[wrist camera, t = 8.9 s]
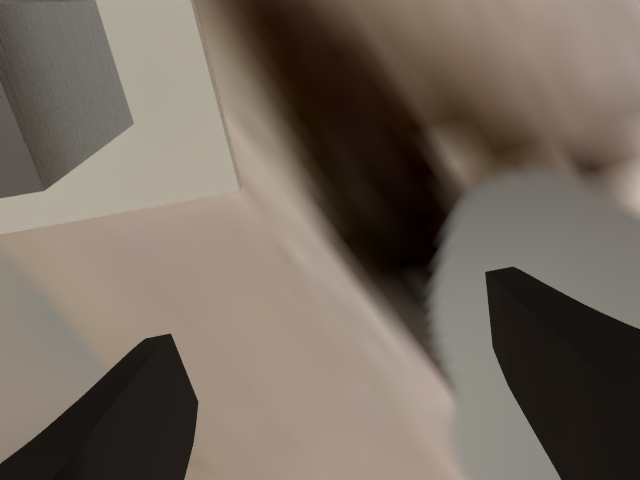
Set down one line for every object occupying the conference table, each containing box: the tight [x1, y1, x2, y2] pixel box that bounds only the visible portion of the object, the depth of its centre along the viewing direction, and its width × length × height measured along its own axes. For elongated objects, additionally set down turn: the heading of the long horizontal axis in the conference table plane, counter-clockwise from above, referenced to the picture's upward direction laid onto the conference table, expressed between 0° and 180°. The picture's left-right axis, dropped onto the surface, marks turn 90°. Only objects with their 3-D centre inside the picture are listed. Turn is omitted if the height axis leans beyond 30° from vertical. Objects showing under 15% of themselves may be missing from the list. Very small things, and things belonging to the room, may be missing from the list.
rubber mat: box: [0, 0, 242, 234], centre depth 18 cm, size 10×10×1 cm
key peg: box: [0, 0, 134, 198], centre depth 15 cm, size 4×4×7 cm
